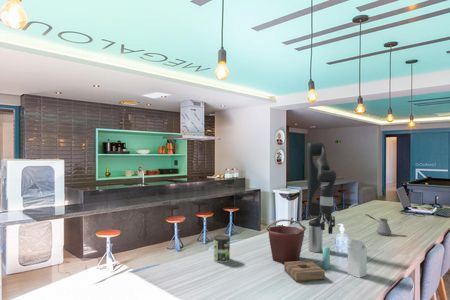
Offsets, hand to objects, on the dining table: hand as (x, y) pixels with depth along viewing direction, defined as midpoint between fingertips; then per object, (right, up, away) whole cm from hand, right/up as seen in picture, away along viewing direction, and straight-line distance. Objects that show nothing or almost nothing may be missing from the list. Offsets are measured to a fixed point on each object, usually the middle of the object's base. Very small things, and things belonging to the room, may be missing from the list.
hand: (326, 231), depth 181 cm
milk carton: (+14, -21, -10) cm, 27 cm away
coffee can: (-62, -21, +12) cm, 66 cm away
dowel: (0, -21, 0) cm, 21 cm away
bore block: (-16, -21, -12) cm, 29 cm away
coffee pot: (+71, -23, +82) cm, 111 cm away
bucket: (-21, -21, +14) cm, 33 cm away
